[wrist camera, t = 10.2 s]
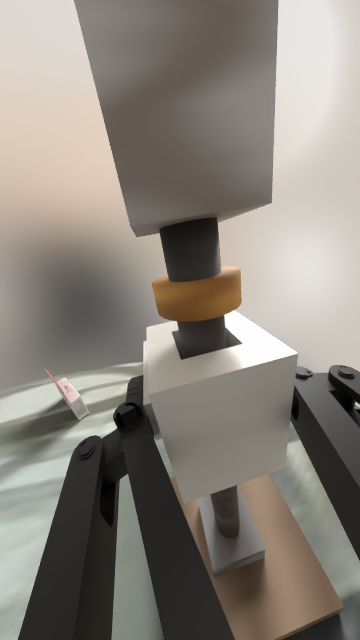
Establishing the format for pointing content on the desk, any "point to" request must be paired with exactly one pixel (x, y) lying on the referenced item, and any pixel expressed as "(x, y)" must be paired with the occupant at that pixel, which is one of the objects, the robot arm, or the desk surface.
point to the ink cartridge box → (71, 398)
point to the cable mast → (206, 247)
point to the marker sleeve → (221, 405)
